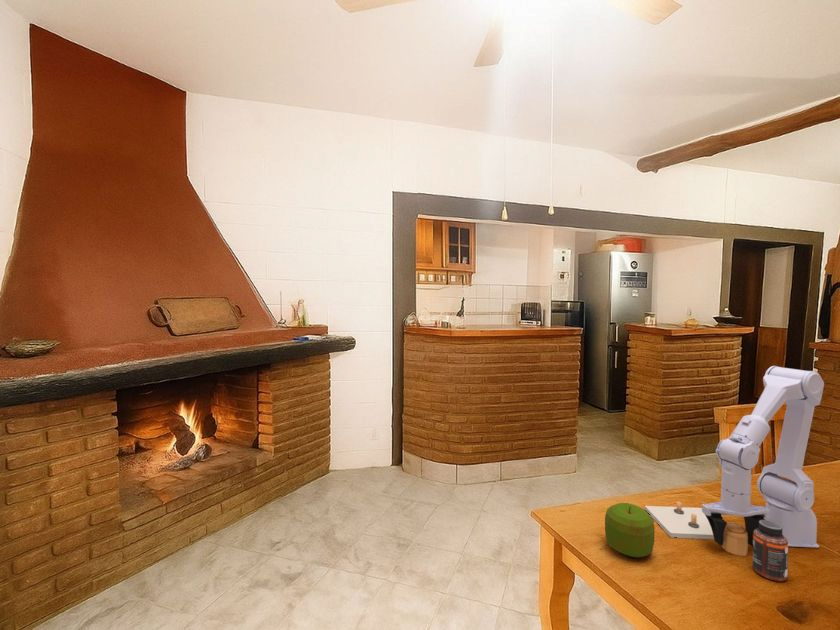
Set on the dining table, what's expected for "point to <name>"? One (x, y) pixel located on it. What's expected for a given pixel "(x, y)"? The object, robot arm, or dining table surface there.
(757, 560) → the supplement bottle
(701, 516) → the junction plate
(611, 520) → the apple
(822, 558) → the dining table surface
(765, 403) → the robot arm
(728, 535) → the acorn nut
